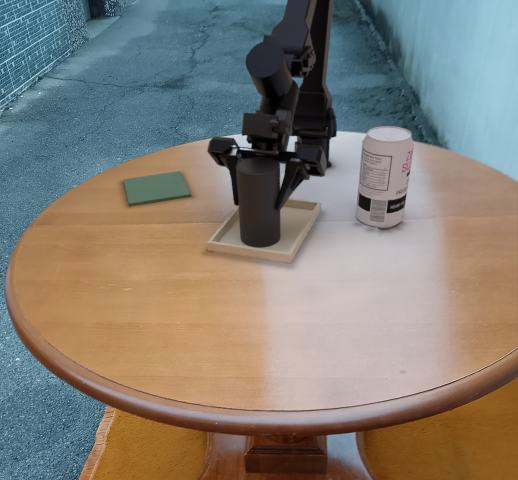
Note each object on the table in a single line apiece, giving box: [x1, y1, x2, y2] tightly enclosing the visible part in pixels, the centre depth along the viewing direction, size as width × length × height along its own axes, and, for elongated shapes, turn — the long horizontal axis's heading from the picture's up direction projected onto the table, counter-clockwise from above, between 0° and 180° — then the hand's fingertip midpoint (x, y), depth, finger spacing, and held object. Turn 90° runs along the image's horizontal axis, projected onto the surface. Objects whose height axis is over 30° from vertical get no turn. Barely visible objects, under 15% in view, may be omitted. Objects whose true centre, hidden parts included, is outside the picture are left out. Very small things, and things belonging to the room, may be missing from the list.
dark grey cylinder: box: [236, 157, 281, 248], centre depth 87 cm, size 7×7×12 cm
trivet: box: [122, 170, 192, 207], centre depth 108 cm, size 12×12×1 cm
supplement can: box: [355, 125, 415, 230], centre depth 90 cm, size 8×8×15 cm
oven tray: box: [206, 197, 322, 264], centre depth 93 cm, size 19×14×2 cm
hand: (256, 207), depth 86 cm, fingers closed on dark grey cylinder, 7 cm apart
